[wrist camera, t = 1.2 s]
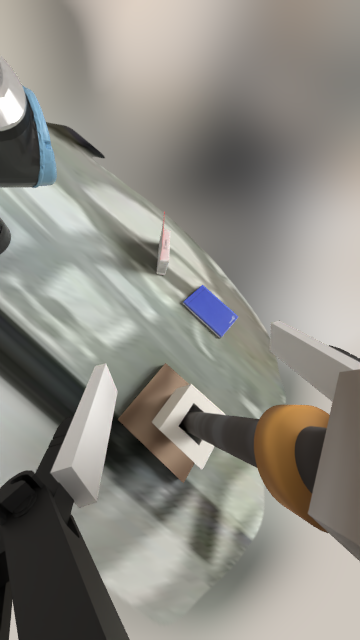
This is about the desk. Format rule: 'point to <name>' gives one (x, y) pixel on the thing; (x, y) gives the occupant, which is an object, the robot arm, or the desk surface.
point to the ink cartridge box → (163, 251)
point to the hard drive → (210, 311)
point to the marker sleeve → (174, 414)
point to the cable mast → (275, 450)
